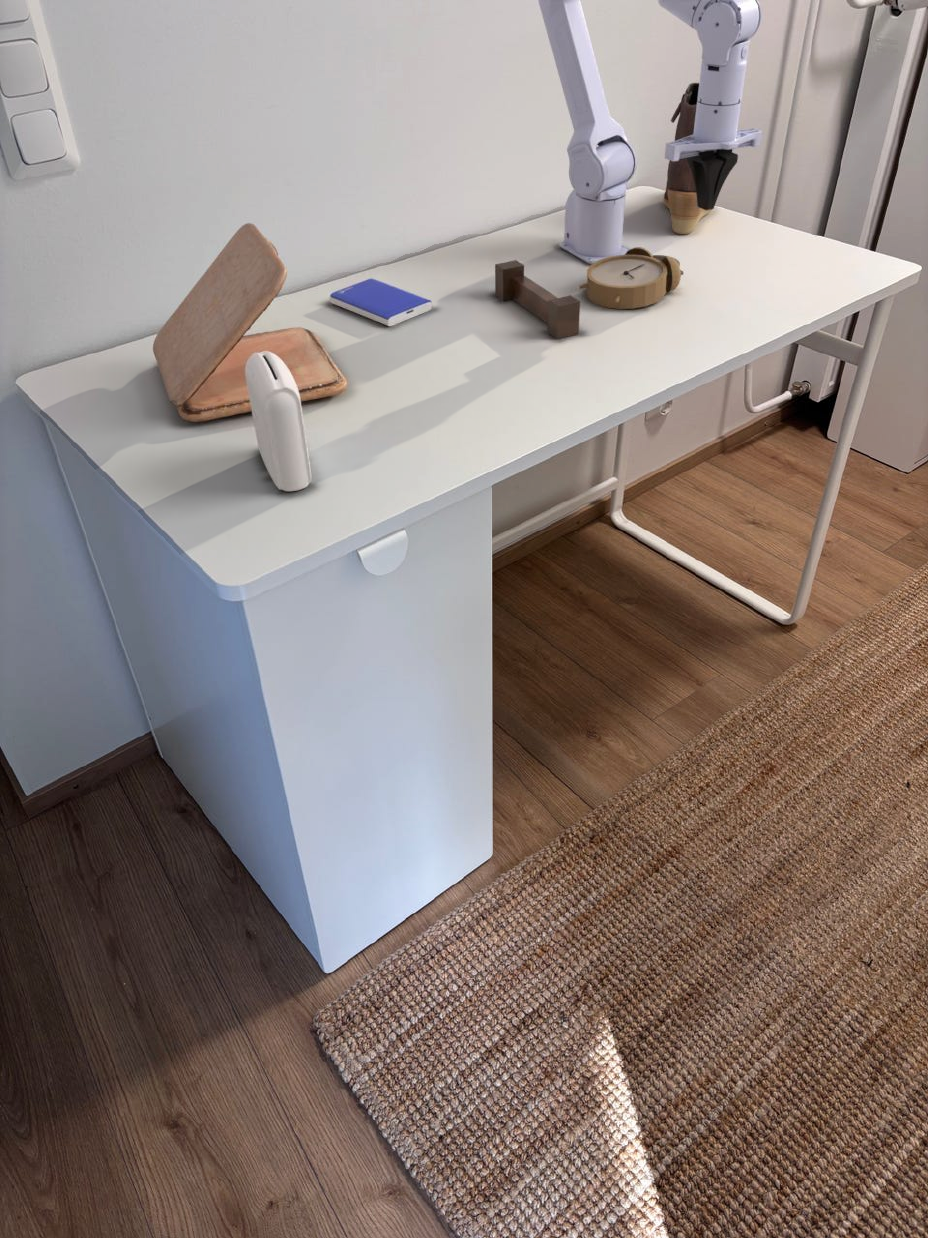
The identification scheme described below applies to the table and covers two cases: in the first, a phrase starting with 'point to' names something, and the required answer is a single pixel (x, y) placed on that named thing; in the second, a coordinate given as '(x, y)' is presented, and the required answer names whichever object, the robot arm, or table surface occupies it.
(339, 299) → the hard drive
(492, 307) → the table surface
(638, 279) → the alarm clock
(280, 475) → the photo printer
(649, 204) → the table surface
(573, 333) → the dumbbell
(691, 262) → the table surface
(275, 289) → the case
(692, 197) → the boot
